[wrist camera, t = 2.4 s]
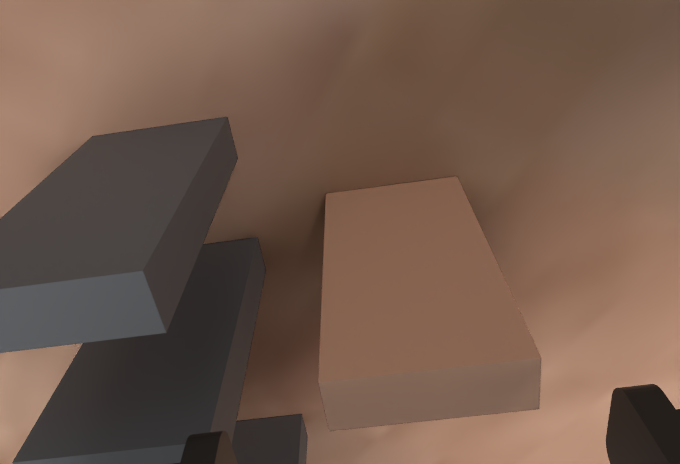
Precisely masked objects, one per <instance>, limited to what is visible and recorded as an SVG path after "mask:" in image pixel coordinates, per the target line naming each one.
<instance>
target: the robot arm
mask: <svg viewBox="0 0 680 464" xmlns="http://www.w3.org/2000/svg"><path fill="white" fill-rule="evenodd" d="M606 448H607V453H608V457H609V461H610V464H680V409H677V410H676V409H675V408H674V406H673V405H672V403H671V402H670V401H669V399H668V398H667V397H666V395H665V394H664V392H663V391H662V390H661V389H660V388H659V387H658V386H657V385H655V384H649V385H640V386H631V387H622V388H616V389H614V391H613V394H612V400H611V407H610V414H609V421H608V428H607V435H606ZM173 464H238V463H237V460H236V457H235V454H234V451H233V448H232V445H231V441H230V438H229V436H228V433H227V432H226V431H218V432H209V433H200V434H191V435H189V437H188V438H187V440H186V443H185V447H184V451H183V454H182V458H181V462H180V463H173Z"/></svg>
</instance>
